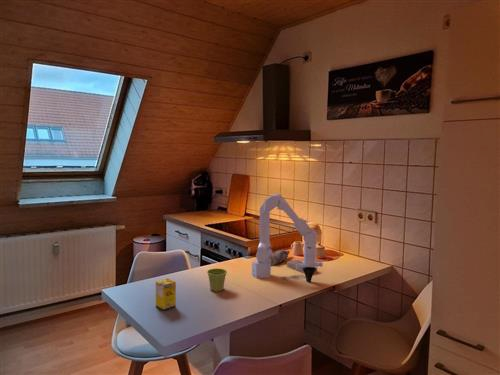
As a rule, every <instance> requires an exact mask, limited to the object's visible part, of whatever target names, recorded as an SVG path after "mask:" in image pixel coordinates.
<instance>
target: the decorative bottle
mask: <svg viewBox="0 0 500 375" xmlns="http://www.w3.org/2000/svg"><path fill="white" fill-rule="evenodd" d="M289 255H290V250H285V249H279V250H277V251H275V252H272V256H271V257H270V259H271V267H273V266H275V265H277V264H280V263H281V262H283V260H284V261H285V260H287V258H288V257H289Z"/></svg>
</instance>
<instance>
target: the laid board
mask: <svg viewBox="0 0 500 375" xmlns="http://www.w3.org/2000/svg"><path fill="white" fill-rule="evenodd" d="M280 278H281V279H282V280H283V281H286V280H289V281H290V279H298V278H306V277H305V274H294V275H289V276H287V275H286V276H280Z"/></svg>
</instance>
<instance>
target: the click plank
mask: <svg viewBox="0 0 500 375" xmlns="http://www.w3.org/2000/svg"><path fill="white" fill-rule="evenodd" d="M303 279H305V280H306V277H305V278H297V279H289V280H285V281H286V282H288V281H289V282H290V281H296V280H303Z"/></svg>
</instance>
